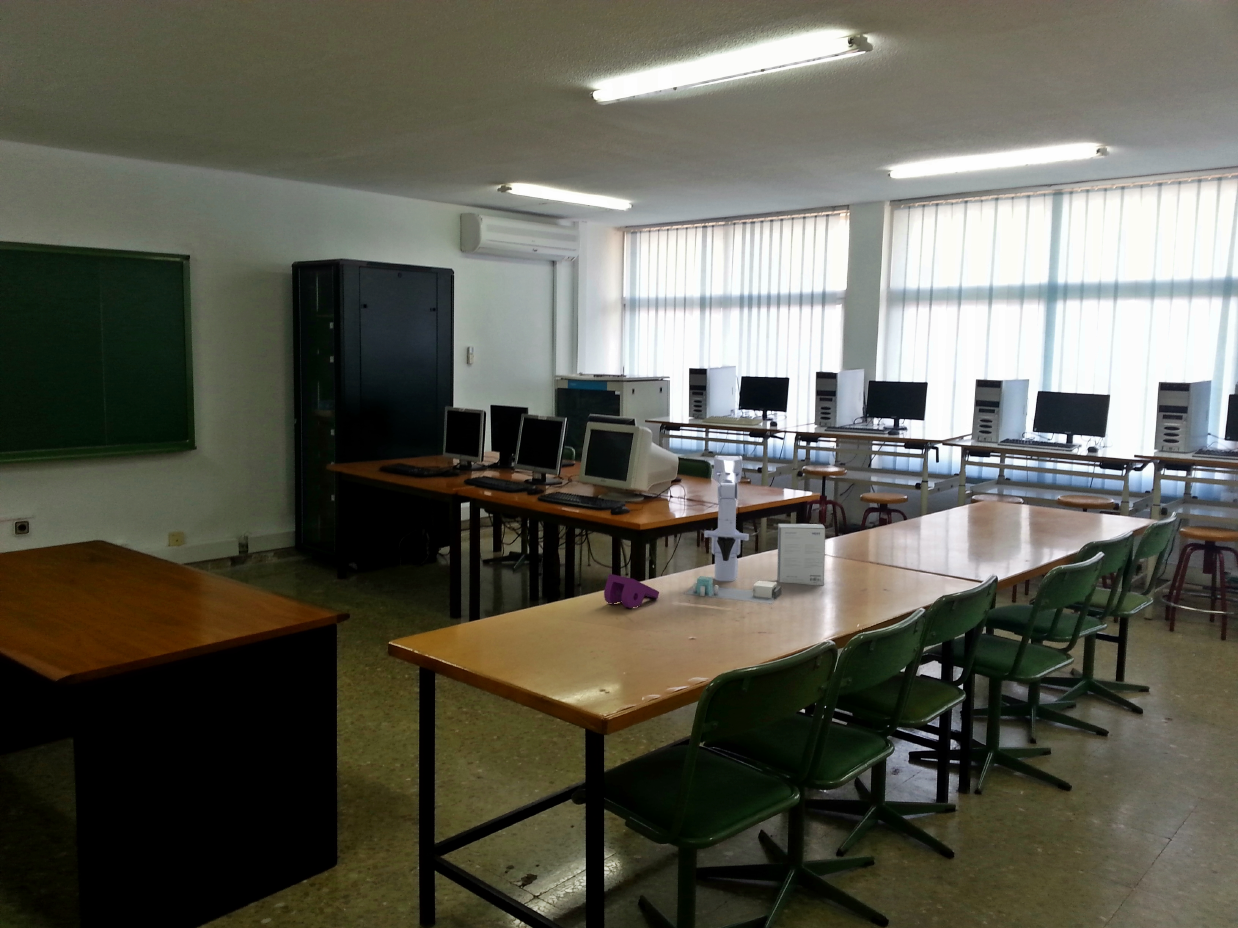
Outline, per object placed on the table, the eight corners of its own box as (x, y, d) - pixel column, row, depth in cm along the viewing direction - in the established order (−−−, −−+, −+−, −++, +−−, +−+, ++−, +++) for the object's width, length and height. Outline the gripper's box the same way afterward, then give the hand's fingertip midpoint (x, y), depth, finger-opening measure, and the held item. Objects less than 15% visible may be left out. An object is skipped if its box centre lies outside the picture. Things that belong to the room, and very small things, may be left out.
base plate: (697, 586, 313) (697, 575, 313) (781, 595, 303) (781, 584, 302) (683, 596, 300) (683, 585, 299) (770, 606, 289) (771, 594, 288)
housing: (758, 590, 305) (758, 580, 305) (776, 592, 303) (776, 582, 302) (752, 595, 299) (753, 585, 298) (771, 597, 296) (771, 587, 296)
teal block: (700, 591, 304) (700, 576, 303) (712, 592, 302) (712, 577, 302) (696, 593, 300) (697, 578, 299) (708, 595, 298) (709, 579, 298)
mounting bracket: (634, 614, 300) (601, 600, 287) (641, 589, 302) (609, 573, 289) (657, 620, 294) (624, 605, 281) (665, 594, 296) (632, 578, 283)
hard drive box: (821, 580, 324) (823, 524, 322) (824, 586, 316) (826, 528, 314) (776, 579, 325) (778, 522, 323) (777, 584, 318) (779, 526, 316)
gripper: (701, 519, 303) (700, 560, 305) (745, 522, 298) (744, 564, 299) (708, 516, 310) (707, 556, 311) (751, 519, 305) (749, 560, 306)
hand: (725, 560), depth 306 cm, fingers closed
